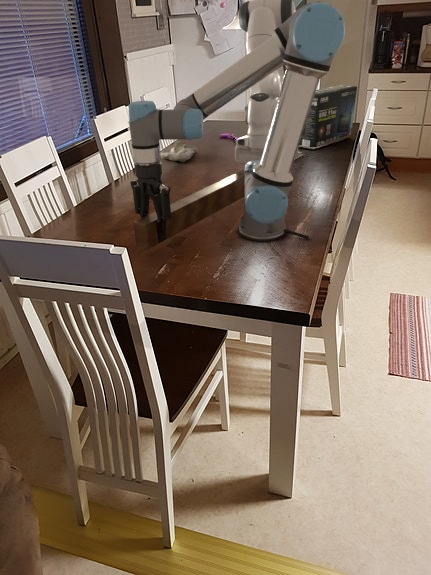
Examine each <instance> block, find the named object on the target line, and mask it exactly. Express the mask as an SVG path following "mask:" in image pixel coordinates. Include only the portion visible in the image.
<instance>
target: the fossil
mask: <svg viewBox="0 0 431 575" xmlns="http://www.w3.org/2000/svg"><path fill="white" fill-rule="evenodd" d="M198 153H199V150H198V148H197V146H195V145H188V146H187V145H186V143H184V142H183V143H181V142H176V143H175V145H174V146H173V147H172V148H171V149H170V150H168V149H165V150H162V151H160V156H161V159H163V160H169V161H174V162H177V161H179V162H180V163H185V162H187V161H188V160H190V159H191V158H192V157H193V156H194V155H197V154H198Z"/></svg>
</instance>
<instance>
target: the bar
mask: <svg viewBox="0 0 431 575" xmlns="http://www.w3.org/2000/svg"><path fill="white" fill-rule="evenodd" d="M244 170H245V168H244V169H242V170H240V171H238V172H236V173H233V174H231V175H230V176H227V177H225V178H223V179H221V180H219V181H216V182H215V183H213V184H211V185H209V186H206V187H204V188H202V189H200V190H198V191H195V192H194V193H191V194H189V195H188V196H185V197H183V198H181V199H179V200H177V201H174V202H173V203H170V207H171V219H169V220H167V221H166V228H167V230H166V231H165V232H166V240H168V239H170V238H172V237H174V236H176V235H177V234H180V233H181V232H183V231H185V230H186V229H188V228H190V227H192V226H194V225H195V224H197V223H200V222H201V221H203V220H205V219H206V218H209V217H210V216H212V215H215V213H217V212H220V211H221V210H223V209H224V208H226V207H229V206H230V205H232V204H234V203H236V202H237V201H239V200H241V199H243V198H245V173H244ZM157 221H158V218H157V214H156V211H153V212H152V213H151V212H150V214H148V215H147V216H145V217H143V218H141V217H140V218H139V219H136V220H135V221H133V222H132V223H133V230H134V238H135V245H136V247H139V248H141V249H144V250H147V251H149V250H150V249H152V248H154V247H155V246H157V245H159V244H160V243H159V242H158V234H157V225H156V222H157ZM166 240H164V241H166ZM164 241H163V242H164Z"/></svg>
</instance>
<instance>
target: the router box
mask: <svg viewBox="0 0 431 575" xmlns="http://www.w3.org/2000/svg"><path fill="white" fill-rule="evenodd" d="M357 93H358V86H356V85H350V84H339V85H338V84H337V85H334V86H328V87H324V88H317V89H316V92H315V96H314V99H313V102H312V105H311V108H310V111H309V114H308V117H307V121H306V124H305V127H304V130H303V133H302V136H301V139H300V142H299V145H302V146H307V147H317V146H320V145H323V144H325V143H328V142H331V141H333V140H336V139H338V138H341V137H344V136H347V135H351V136H352V133H353V132H352V131H353V125H354V115H355V109H356V99H357ZM311 151H313V150H312V149H311Z"/></svg>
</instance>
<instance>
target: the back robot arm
mask: <svg viewBox="0 0 431 575" xmlns="http://www.w3.org/2000/svg"><path fill="white" fill-rule="evenodd" d="M296 11H297V10H296V5H295V2H294V0H251V1H250V0H247V1H244V2H243V3H241V4H240V6H239V8H238V13H237V21H238V25H239V27H240V29H241V30H242V31H243V32H245V33H246V52H247V54H248V53H250V52H251V51H252V50H254V49H255V48H257V47H258V46H259V45H261V44H262V43H264V42H265V41H266V40H268V39H269V38H271V36H272V33H273V30H275V29H276V28H278V27H279V26H280V25H281V24H283V23H284V22H285V21H286V20H287V19H288V18H289V17H290V16H291V15H293V14H294V13H295V12H296ZM247 54H246V55H247ZM285 73H286V66H285V64H284V65H283V66H281V67H280V68H279V69H277V70H276V71H274V72H273V73H271V74H270V75H268V76H267V77H265V78H264V79H262V80H261V81H259V82H258V83H256V84H255V85H253V86H252V87H250V88H249V89H248V90H249V92H250V93H251V95H250V96H249V98H248V103H247V104H246V106H244V123H246V125H247V126H248V129H247V134H246V135H244V136H241V137H238V139H237V140H235V144H236V146H235V148H234V161H235V163H236V164H241V165H245V164H246V163H248V162H251V161H257V160H261V158H262V154H263V151H264V147H265V144H266V140H267V136H268V133H269V129H270V126H271V122H272V119H273V115H274V112H275V108H276V105H277V101H278V97H279V94H280V90H281V87H282V83H283V80H284V76H285ZM297 152H298V153H302V152H301V151H299V148H298V149H297ZM297 152H296V153H297ZM303 156H304V153H303V154H302V155H300V156H298V157H296V158H294V161H295V160H297V159H299V158H301V157H303Z"/></svg>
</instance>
